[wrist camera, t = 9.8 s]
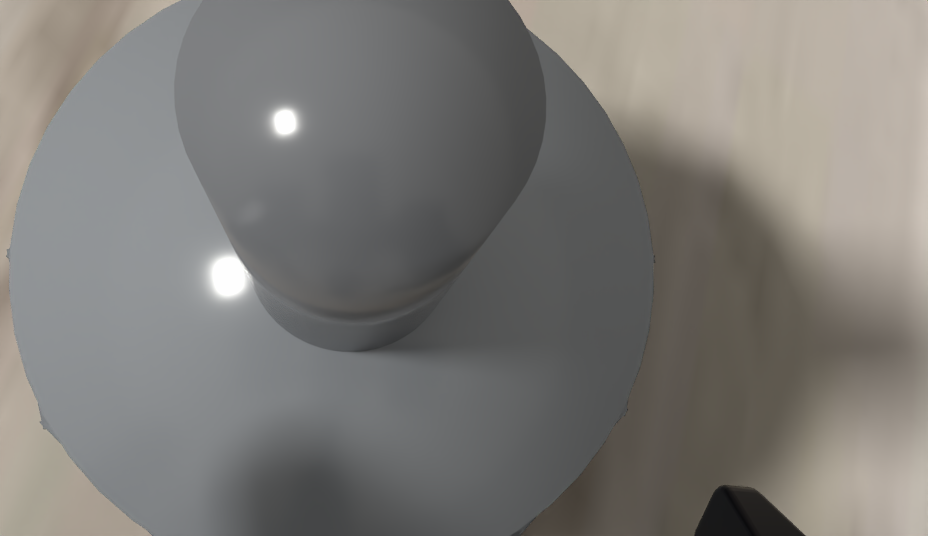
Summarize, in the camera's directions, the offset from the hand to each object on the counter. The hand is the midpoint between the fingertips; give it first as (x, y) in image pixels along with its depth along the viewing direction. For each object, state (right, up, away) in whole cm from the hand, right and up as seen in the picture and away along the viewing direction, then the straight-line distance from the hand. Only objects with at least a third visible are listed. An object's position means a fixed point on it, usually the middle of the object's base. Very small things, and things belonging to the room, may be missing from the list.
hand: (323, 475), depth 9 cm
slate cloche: (-1, +1, +10) cm, 10 cm away
